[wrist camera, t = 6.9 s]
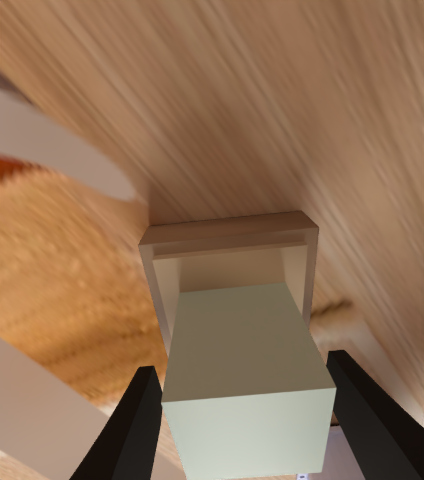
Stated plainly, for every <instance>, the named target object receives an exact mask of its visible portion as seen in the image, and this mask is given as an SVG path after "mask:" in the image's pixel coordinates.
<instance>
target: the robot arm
mask: <svg viewBox="0 0 424 480" xmlns="http://www.w3.org/2000/svg"><path fill="white" fill-rule="evenodd" d="M326 367H327V369H328V371H329V373H330V375H331V377H332V379H333V382H334V384H335V386H336V394H335V399H334V405H333V411H334V413H335V416H336V418H337V420H338V422H339V424H340V426H330V428H329V433H328V439H327V445H326V450H325V456H324V461H323V467H322V472H319V473H305V474H296V480H424V428H423V427H422V426H421V425H420V424H419V423H418V422H417V421H416V420H414V419H413V418H412V417H411V416H410V415H409V414H408V413H407V412H406V411H405V410H404V409H403V408H402V407H401V406H400V405H399V404H398V403H396V402H395V401H394V400H393V399H392V398H391V397H390V396H389V395H388V394H387V393H386V392H385V391H384V390H383V389H382V388H381V387H380V386H379V385H378V384H377V383H376V382H375V381H374V380H373V379H372V378H371V377H370V376H369V375H368V374H367V373H366V372H365V371H364V370H363V369H362V368H361V367H360V366H359V365H358V364H357V362H356V361H355V360H354V359H353V358H352V357H351V356H350V355H349V354H348V353H347V352H346V351H345V350H336V351H329V353H328V359H327V365H326ZM162 394H163V393H162V390H161V386H160V383H159V380H158V377H157V373H156V370H155V367H154V366H144V367H139V368H138V369H137V371H136V373H135V375H134V377H133V379H132V380H131V382H130V384H129V386H128V388H127V390H126V391H125V393H124V395H123V397H122V398H121V400H120V402H119V404H118V405H117V407H116V409H115V410H114V412H113V414H112V415H111V417H110V419H109V420H108V422H107V424H106V425H105V427H104V429H103V430H102V432H101V433H100V435H99V436H98V438H97V439H96V441H95V442H94V444H93V445H92V447H91V448H90V450H89V452H88V453H87V455H86V456H85V458H84V459H83V461H82V462H81V463H80V465H79V467H78V468H77V469H76V471H75V472H74V474H73V475H72V476H71V478H70V479H69V480H150V478H151V473H152V468H153V463H154V457H155V452H156V447H157V442H158V437H159V431H160V426H161V417H162V404H161V400H162Z"/></svg>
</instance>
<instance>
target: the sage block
mask: <svg viewBox="0 0 424 480" xmlns="http://www.w3.org/2000/svg"><path fill="white" fill-rule="evenodd" d="M335 394H336V386H335V384H334V382H333V379H332V377H331V375H330V373H329V371H328V369H327V367H326V365H325V363H324V361H323V359H322V357H321V355H320V353H319V351H318V348H317V346H316V344H315V342H314V340H313V338H312V336H311V334H310V332H309V330H308V328H307V326H306V324H305V322H304V319H303V317H302V315H301V313H300V311H299V309H298V307H297V305H296V303H295V301H294V299H293V297H292V295H291V293H290V291H289V288H288V286H287V284H286V282H282V283H272V284H262V285H252V286H242V287H232V288H222V289H213V290H203V291H193V292H183V293H179V298H178V304H177V310H176V316H175V322H174V328H173V334H172V340H171V346H170V352H169V358H168V364H167V370H166V376H165V382H164V388H163V394H162V400H161V404H162V407H163V410H164V413H165V416H166V419H167V422H168V425H169V428H170V431H171V433H172V436H173V439H174V442H175V445H176V448H177V451H178V454H179V457H180V460H181V463H182V466H183V469H184V472H185V474H186V477H187V480H223V479H237V478H250V477H264V476H278V475H292V474H305V473H319V472H322V467H323V461H324V456H325V450H326V445H327V439H328V433H329V428H330V422H331V416H332V411H333V405H334V399H335Z"/></svg>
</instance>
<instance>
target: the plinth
mask: <svg viewBox="0 0 424 480" xmlns="http://www.w3.org/2000/svg"><path fill="white" fill-rule="evenodd" d="M318 234H319V227H318V226H317V225H316V224H315V223H314V222H313V221H312V220H311V219H310V218H309V217H308V216H307V215H306V214H305V213H304V212H302V211H294V212H284V213H274V214H264V215H254V216H245V217H235V218H225V219H215V220H205V221H195V222H185V223H176V224H166V225H156V226H149V227H148V229H147V230H146V232H145V234H144V236H143V237H142V239H141V241H140V243H139V244H138V247H139V251H140V255H141V258H142V262H143V266H144V270H145V273H146V277H147V281H148V285H149V288H150V292H151V296H152V300H153V304H154V307H155V311H156V315H157V319H158V322H159V326H160V330H161V334H162V337H163V341H164V345H165V349H166V352H167V356H168V358H169V352H170V346H171V340H172V334H173V328H174V322H175V316H176V310H177V304H178V298H179V293H183V292H193V291H203V290H213V289H222V288H232V287H242V286H252V285H262V284H272V283H282V282H286V284H287V286H288V288H289V291H290V293H291V295H292V297H293V299H294V301H295V303H296V305H297V307H298V309H299V311H300V313H301V315H302V317H303V319H304V322H305V324H306V326H307V328H308V330H309V325H310V315H311V305H312V295H313V285H314V275H315V265H316V254H317V244H318Z"/></svg>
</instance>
